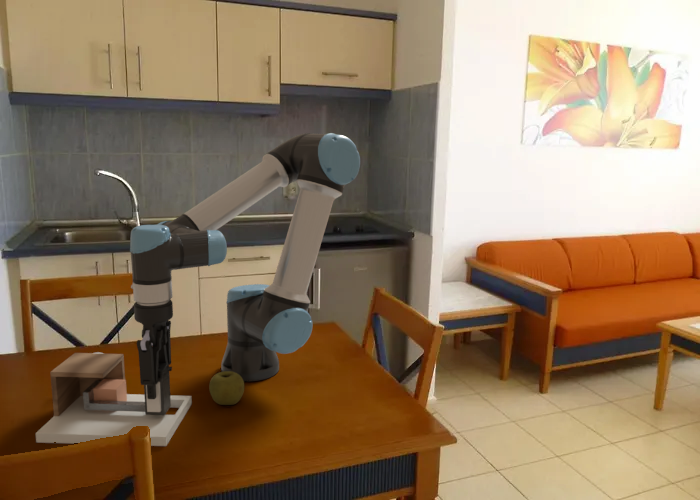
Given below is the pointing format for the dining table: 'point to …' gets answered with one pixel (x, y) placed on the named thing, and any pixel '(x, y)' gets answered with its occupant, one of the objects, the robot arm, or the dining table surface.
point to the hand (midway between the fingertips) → (158, 405)
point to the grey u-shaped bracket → (129, 405)
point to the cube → (111, 390)
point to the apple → (226, 388)
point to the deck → (111, 422)
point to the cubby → (82, 376)
